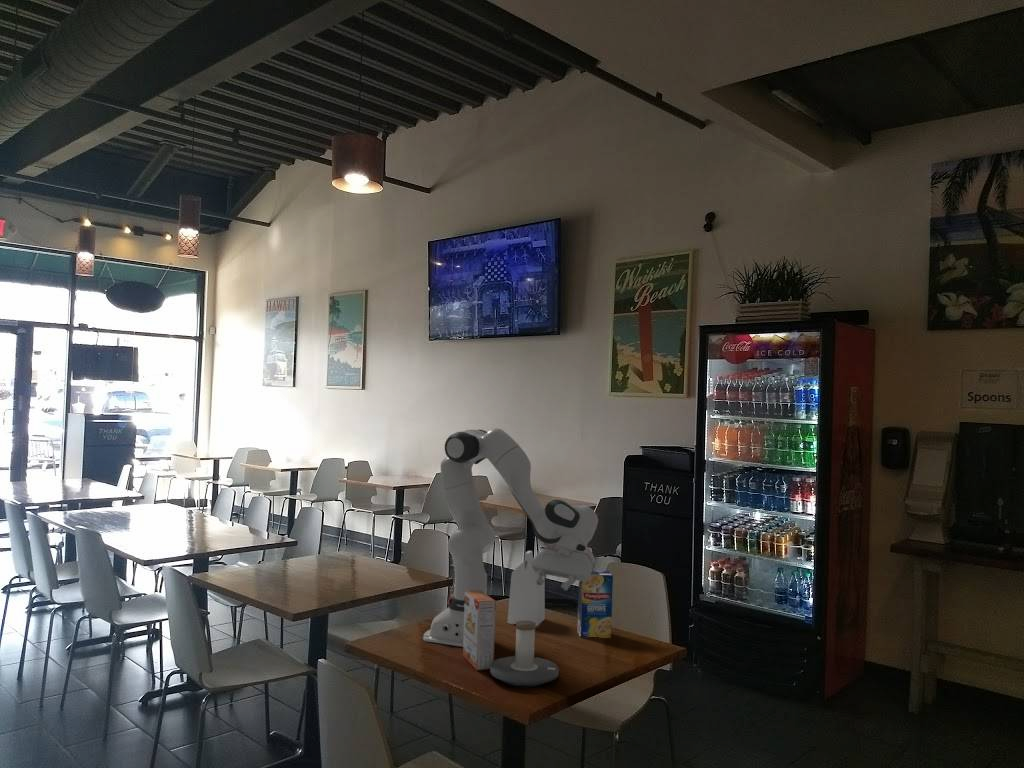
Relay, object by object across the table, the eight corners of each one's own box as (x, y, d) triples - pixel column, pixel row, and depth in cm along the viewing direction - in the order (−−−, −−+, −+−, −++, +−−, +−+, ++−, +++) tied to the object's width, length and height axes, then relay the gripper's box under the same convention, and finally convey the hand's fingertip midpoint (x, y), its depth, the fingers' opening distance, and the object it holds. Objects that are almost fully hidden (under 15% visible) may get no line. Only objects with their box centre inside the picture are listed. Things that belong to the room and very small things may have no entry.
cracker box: (461, 657, 240) (463, 590, 241) (479, 655, 242) (481, 589, 243) (475, 671, 227) (477, 600, 228) (494, 669, 229) (496, 599, 230)
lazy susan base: (496, 684, 217) (496, 679, 217) (504, 668, 230) (504, 663, 230) (544, 688, 214) (545, 683, 214) (550, 672, 228) (550, 667, 228)
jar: (513, 668, 220) (514, 625, 221) (515, 662, 226) (517, 620, 226) (532, 670, 219) (534, 626, 220) (535, 663, 225) (536, 621, 226)
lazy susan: (484, 680, 214) (484, 674, 214) (496, 658, 234) (496, 653, 234) (554, 687, 211) (554, 680, 211) (561, 664, 231) (561, 658, 231)
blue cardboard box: (611, 637, 268) (613, 575, 269) (580, 637, 267) (582, 574, 268) (606, 632, 275) (608, 571, 276) (577, 632, 274) (579, 570, 275)
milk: (515, 616, 293) (518, 548, 294) (544, 619, 290) (546, 550, 291) (507, 623, 282) (509, 553, 283) (537, 627, 279) (539, 555, 280)
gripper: (539, 540, 246) (520, 574, 238) (593, 548, 234) (574, 585, 225) (546, 552, 250) (528, 586, 241) (600, 561, 237) (582, 598, 229)
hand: (551, 586), depth 233 cm, fingers open, 8 cm apart
